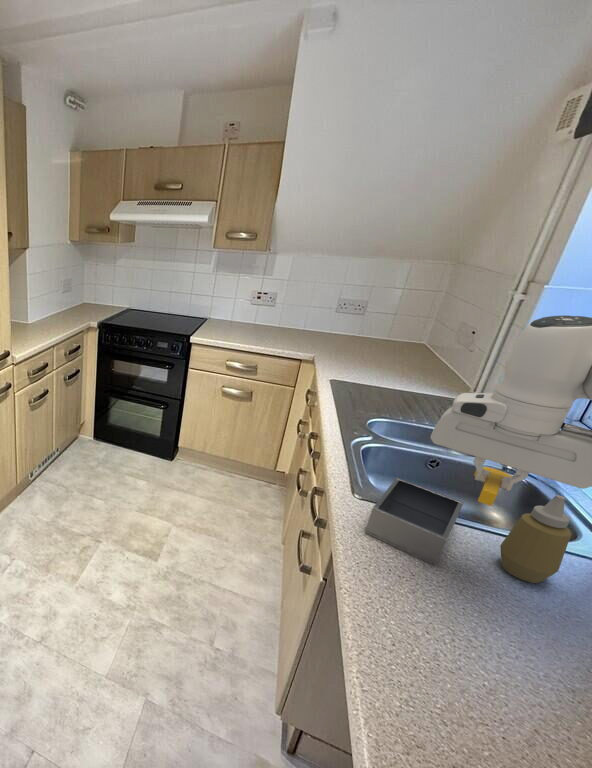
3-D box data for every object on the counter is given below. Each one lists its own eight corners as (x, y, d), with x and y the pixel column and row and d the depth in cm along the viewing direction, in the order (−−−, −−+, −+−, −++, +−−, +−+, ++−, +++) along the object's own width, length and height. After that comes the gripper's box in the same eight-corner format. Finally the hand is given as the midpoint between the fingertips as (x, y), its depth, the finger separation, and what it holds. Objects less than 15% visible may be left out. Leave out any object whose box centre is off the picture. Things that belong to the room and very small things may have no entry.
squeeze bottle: (557, 595, 77) (603, 517, 70) (499, 576, 81) (538, 500, 74) (541, 567, 83) (582, 493, 77) (488, 551, 87) (522, 479, 81)
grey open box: (388, 500, 103) (396, 477, 101) (453, 526, 94) (463, 502, 92) (364, 533, 92) (372, 507, 89) (435, 566, 83) (447, 539, 80)
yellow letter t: (513, 481, 77) (518, 470, 76) (505, 511, 68) (511, 499, 68) (476, 469, 81) (480, 459, 80) (464, 496, 72) (469, 485, 71)
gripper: (621, 430, 63) (579, 505, 68) (449, 391, 77) (425, 455, 82) (624, 443, 59) (580, 521, 64) (443, 399, 73) (418, 466, 78)
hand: (491, 484), depth 73 cm, fingers closed on yellow letter t, 2 cm apart
